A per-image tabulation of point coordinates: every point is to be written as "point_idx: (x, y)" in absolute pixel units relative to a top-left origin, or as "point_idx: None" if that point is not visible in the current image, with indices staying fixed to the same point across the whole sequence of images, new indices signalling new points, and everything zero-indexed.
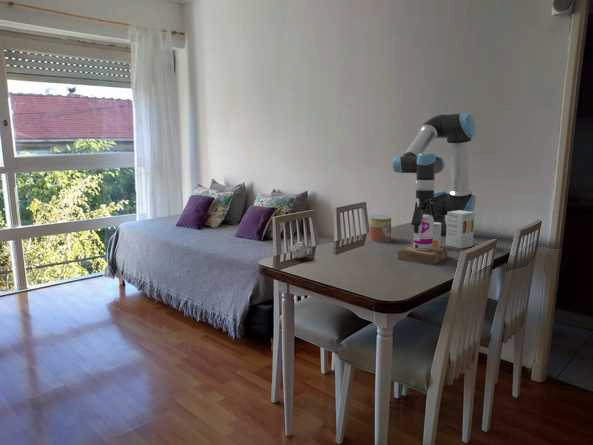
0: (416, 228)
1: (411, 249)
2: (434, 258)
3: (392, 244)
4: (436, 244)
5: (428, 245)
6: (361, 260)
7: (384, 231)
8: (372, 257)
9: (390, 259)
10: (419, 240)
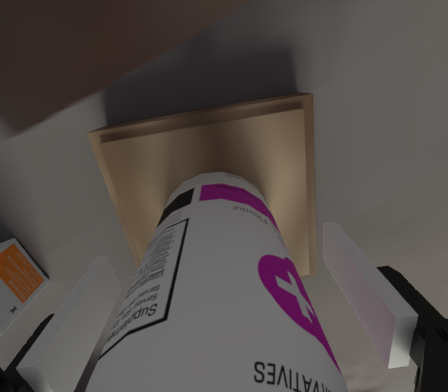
0: (426, 307)
1: None
2: (289, 96)
3: None
4: (8, 257)
5: (242, 185)
6: None
7: None
8: (338, 319)
9: (325, 268)
10: (336, 223)
